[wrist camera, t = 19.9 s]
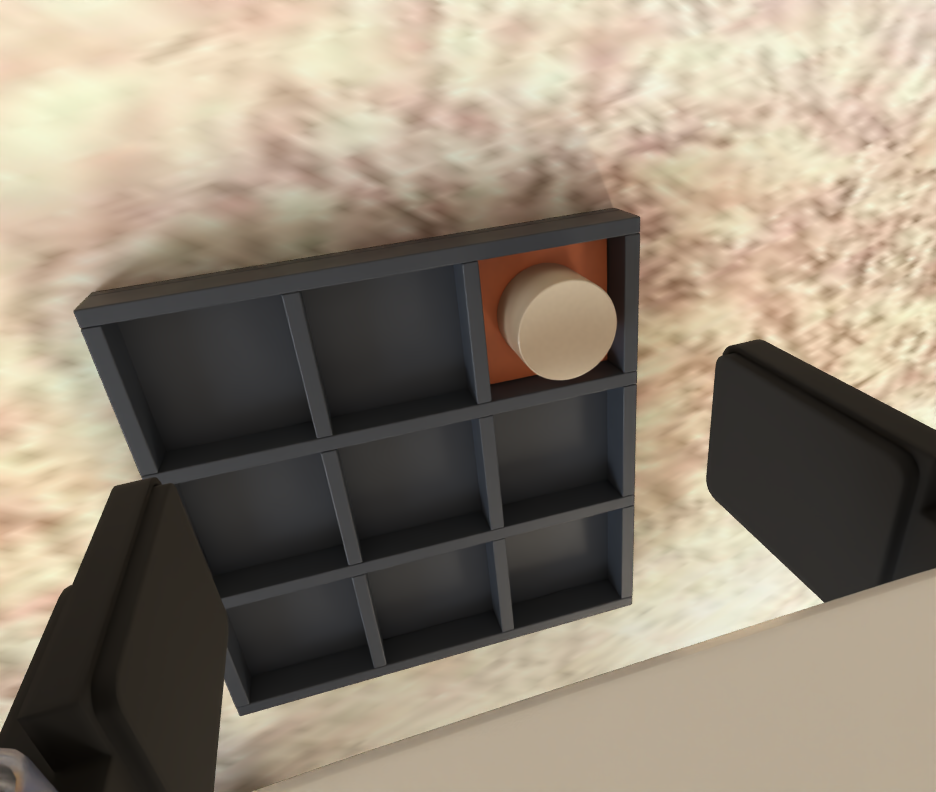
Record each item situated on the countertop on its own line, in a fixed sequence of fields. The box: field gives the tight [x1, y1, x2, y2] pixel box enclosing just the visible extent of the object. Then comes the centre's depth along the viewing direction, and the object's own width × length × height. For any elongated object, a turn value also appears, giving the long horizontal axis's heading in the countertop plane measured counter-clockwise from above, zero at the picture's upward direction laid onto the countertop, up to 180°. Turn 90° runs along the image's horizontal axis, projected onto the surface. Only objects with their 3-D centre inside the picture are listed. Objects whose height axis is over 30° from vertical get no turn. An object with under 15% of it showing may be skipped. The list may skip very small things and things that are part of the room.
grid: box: [74, 208, 640, 716], centre depth 30 cm, size 22×22×2 cm
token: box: [497, 263, 617, 380], centre depth 27 cm, size 4×4×3 cm
